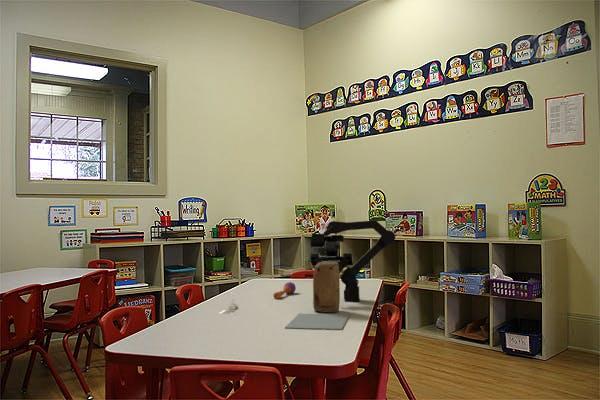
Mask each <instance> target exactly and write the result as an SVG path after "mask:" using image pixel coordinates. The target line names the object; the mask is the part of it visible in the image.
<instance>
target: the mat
mask: <svg viewBox="0 0 600 400" xmlns="http://www.w3.org/2000/svg"><path fill="white" fill-rule="evenodd" d="M349 317H350V314H345V313H344V314H342V313H298V314H297V315H295V317H294V318H293V319H292V320H291V321H290V322H288V323H287V325H286V326H284V329H288V330H289V329H291V330H293V329H295V330H296V329H297V330H323V329H326V330H327V331H328V330H329V331H330V330H331V331H336V330H337V331H342V330H343V328H344V326H345V324H346V322H347V321H348V319H349Z"/></svg>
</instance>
